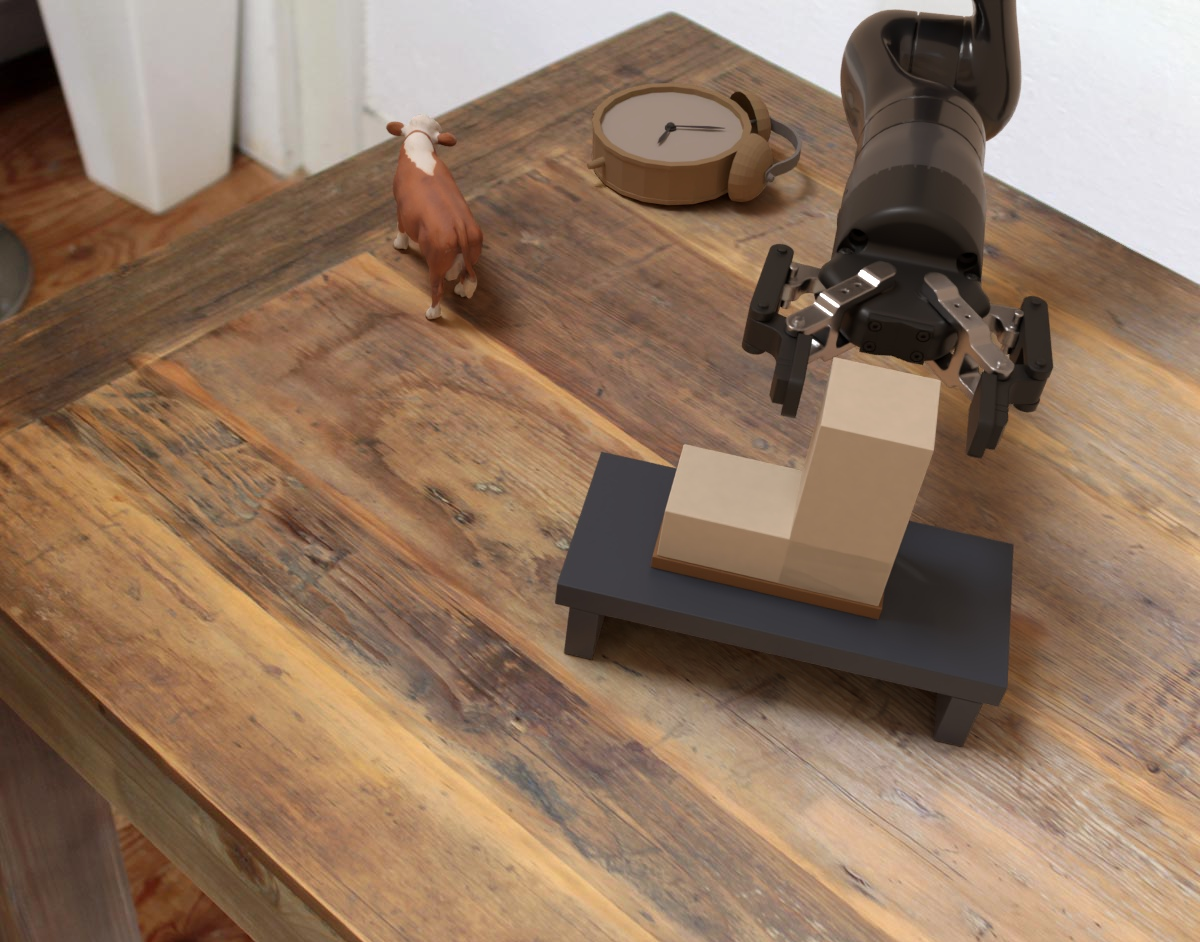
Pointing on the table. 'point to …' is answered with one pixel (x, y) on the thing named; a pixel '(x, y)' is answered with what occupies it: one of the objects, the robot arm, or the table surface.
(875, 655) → the dark grey low platform
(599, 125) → the alarm clock
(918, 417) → the boot
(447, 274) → the bull figurine
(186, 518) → the table surface
